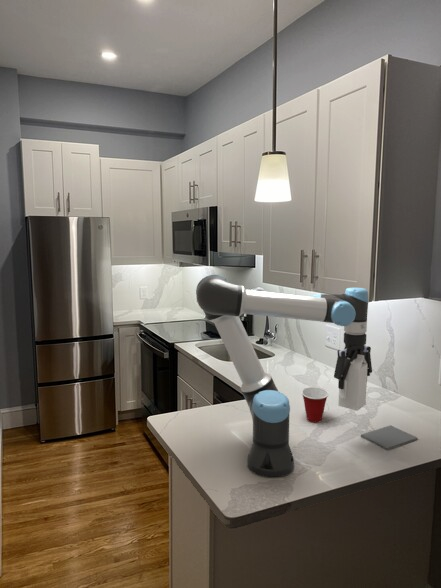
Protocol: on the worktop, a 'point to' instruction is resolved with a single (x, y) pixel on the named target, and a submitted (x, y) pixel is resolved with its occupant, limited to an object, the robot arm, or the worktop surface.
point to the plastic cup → (314, 402)
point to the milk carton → (355, 385)
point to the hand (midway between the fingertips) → (352, 395)
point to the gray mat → (389, 437)
